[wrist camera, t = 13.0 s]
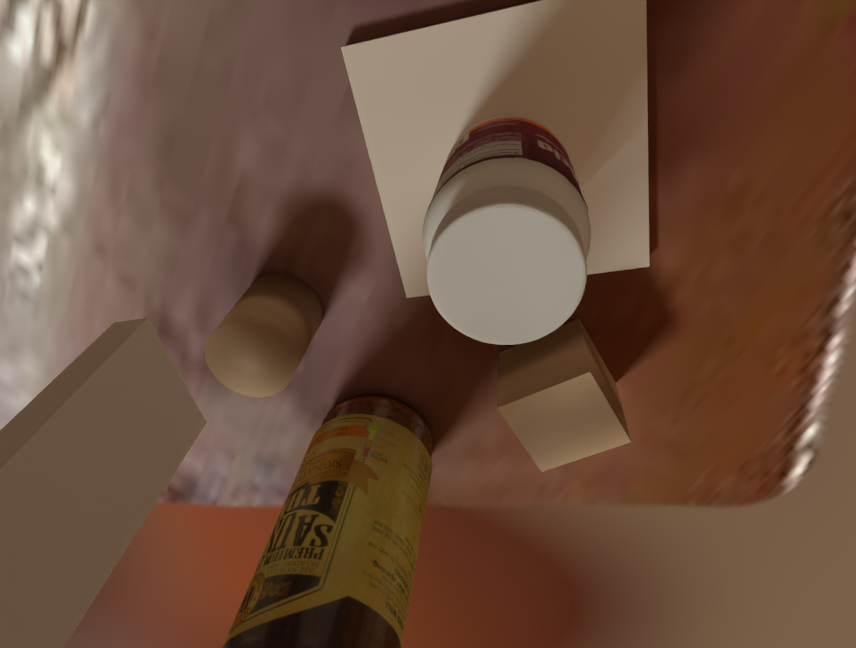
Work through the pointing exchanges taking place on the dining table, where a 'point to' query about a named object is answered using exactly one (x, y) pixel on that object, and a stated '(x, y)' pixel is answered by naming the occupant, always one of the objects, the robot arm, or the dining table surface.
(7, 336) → the dining table surface
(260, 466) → the dining table surface
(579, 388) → the beech block
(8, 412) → the dining table surface
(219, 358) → the cork
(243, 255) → the dining table surface
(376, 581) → the sauce bottle
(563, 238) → the pill bottle
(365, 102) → the tile
